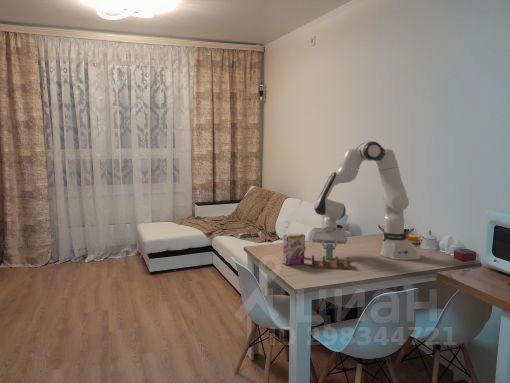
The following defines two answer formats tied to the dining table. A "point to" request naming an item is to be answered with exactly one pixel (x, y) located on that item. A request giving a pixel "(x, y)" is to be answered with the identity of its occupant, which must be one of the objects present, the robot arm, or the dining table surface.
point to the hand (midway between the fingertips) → (329, 248)
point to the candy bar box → (293, 249)
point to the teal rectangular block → (329, 251)
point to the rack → (331, 264)
